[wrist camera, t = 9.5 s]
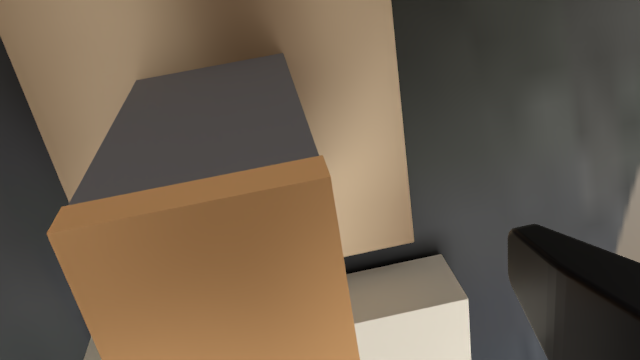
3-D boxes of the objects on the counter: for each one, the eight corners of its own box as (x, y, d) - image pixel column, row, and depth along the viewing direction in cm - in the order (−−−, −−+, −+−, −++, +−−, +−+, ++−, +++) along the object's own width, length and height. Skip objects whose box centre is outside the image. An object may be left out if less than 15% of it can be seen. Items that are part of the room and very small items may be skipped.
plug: (174, 210, 17) (133, 431, 10) (133, 78, 15) (46, 233, 8) (308, 183, 17) (363, 380, 10) (284, 50, 15) (330, 176, 8)
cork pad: (113, 298, 18) (112, 306, 18) (-15, -19, 14) (-22, -17, 14) (410, 235, 19) (414, 242, 19) (378, -90, 15) (382, -90, 14)
